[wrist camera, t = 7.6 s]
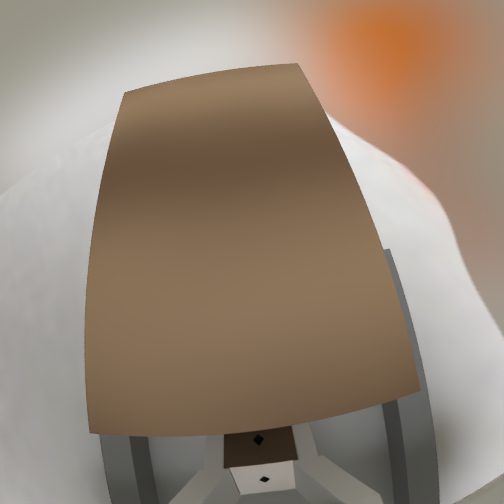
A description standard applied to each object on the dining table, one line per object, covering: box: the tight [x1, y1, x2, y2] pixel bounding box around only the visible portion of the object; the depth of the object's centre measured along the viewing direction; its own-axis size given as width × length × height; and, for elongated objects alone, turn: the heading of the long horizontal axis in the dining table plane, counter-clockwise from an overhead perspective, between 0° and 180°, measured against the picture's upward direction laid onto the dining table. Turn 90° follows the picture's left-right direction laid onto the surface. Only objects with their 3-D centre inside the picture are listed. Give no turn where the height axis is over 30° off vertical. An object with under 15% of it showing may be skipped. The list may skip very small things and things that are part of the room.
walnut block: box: [85, 63, 421, 437], centre depth 11 cm, size 10×6×9 cm, turn 8°
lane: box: [100, 249, 440, 504], centre depth 13 cm, size 26×14×3 cm, turn 8°
